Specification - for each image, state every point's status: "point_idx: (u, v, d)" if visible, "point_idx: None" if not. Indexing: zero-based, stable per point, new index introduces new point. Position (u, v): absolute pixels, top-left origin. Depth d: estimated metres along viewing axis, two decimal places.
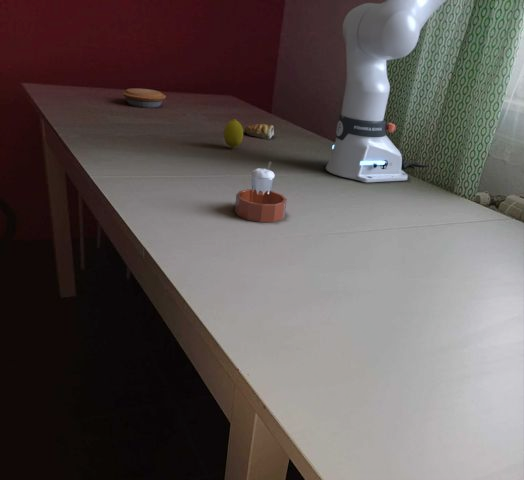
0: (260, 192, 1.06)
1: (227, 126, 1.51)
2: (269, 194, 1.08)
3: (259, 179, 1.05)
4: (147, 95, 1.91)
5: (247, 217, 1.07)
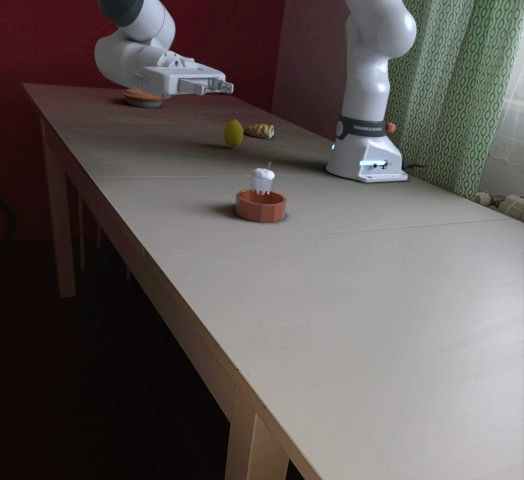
0: (260, 192, 1.06)
1: (227, 126, 1.51)
2: (269, 194, 1.08)
3: (259, 179, 1.05)
4: (147, 95, 1.91)
5: (247, 217, 1.07)
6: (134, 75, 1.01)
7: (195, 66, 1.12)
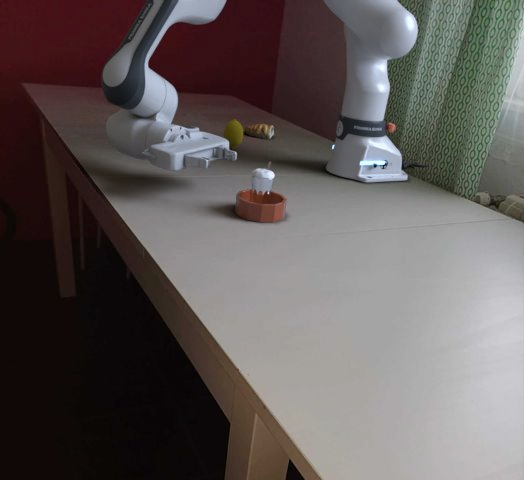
0: (260, 192, 1.06)
1: (227, 126, 1.51)
2: (269, 194, 1.08)
3: (259, 179, 1.05)
4: None
5: (247, 217, 1.07)
6: (142, 154, 1.07)
7: (200, 135, 1.18)
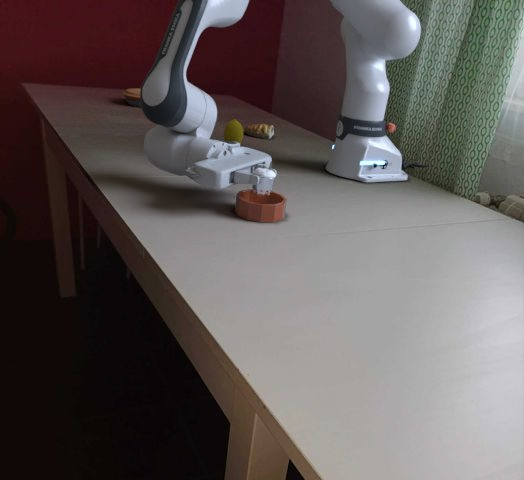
0: (260, 191, 1.07)
1: (227, 126, 1.51)
2: (270, 194, 1.08)
3: None
4: None
5: (247, 217, 1.07)
6: (186, 172, 1.04)
7: (242, 151, 1.14)
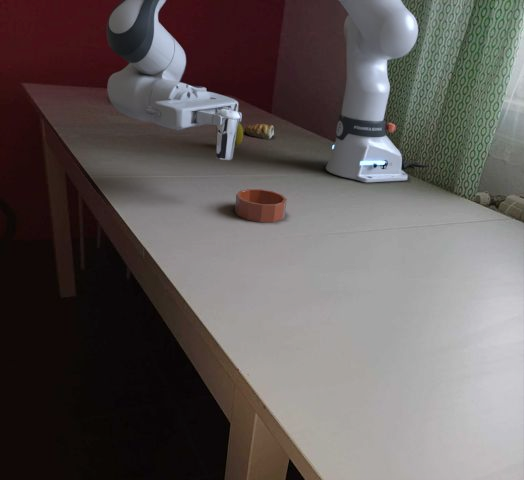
0: (224, 133, 1.04)
1: None
2: (234, 136, 1.05)
3: None
4: None
5: (247, 217, 1.07)
6: (147, 111, 1.01)
7: (207, 95, 1.11)
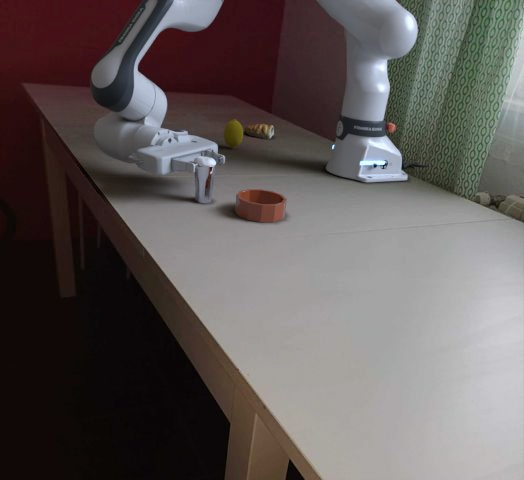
0: (202, 179, 1.10)
1: (227, 126, 1.51)
2: (211, 181, 1.11)
3: (200, 167, 1.08)
4: None
5: (247, 217, 1.07)
6: (129, 158, 1.07)
7: (188, 139, 1.18)
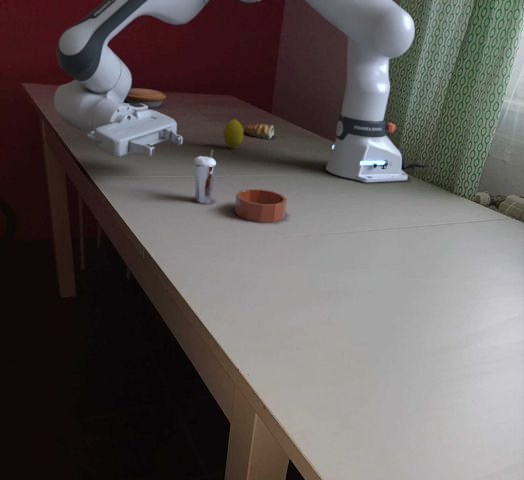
0: (202, 179, 1.10)
1: (227, 126, 1.51)
2: (211, 181, 1.11)
3: (200, 167, 1.08)
4: (147, 95, 1.91)
5: (247, 217, 1.07)
6: (88, 136, 1.10)
7: (148, 114, 1.20)
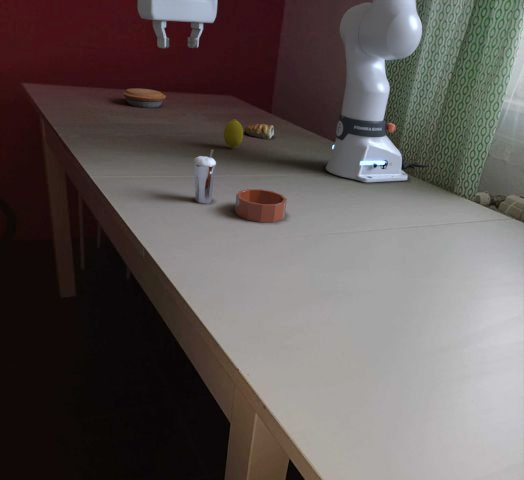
0: (201, 179, 1.10)
1: (227, 126, 1.51)
2: (211, 181, 1.11)
3: (200, 167, 1.08)
4: (147, 95, 1.91)
5: (247, 217, 1.07)
6: None
7: None
